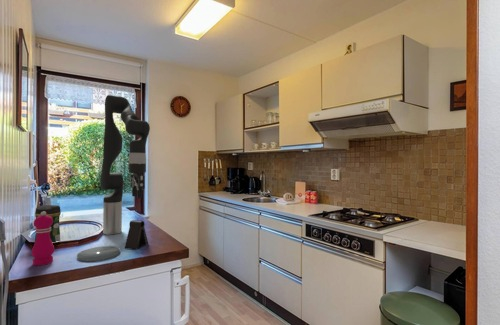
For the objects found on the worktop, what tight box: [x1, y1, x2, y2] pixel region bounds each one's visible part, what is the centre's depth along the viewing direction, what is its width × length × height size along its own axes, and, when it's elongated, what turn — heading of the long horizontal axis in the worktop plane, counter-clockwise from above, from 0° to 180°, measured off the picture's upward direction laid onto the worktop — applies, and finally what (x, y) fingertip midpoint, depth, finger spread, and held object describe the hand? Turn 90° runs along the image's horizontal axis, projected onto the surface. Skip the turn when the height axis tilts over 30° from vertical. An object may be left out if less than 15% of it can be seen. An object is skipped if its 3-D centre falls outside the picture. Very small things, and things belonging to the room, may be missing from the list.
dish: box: [76, 245, 121, 263], centre depth 116 cm, size 16×16×1 cm
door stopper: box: [124, 219, 149, 250], centre depth 128 cm, size 9×6×12 cm, turn 163°
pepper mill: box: [30, 211, 55, 266], centre depth 106 cm, size 7×7×20 cm
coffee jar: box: [34, 204, 62, 243], centre depth 130 cm, size 10×8×19 cm
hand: (137, 197), depth 128 cm, fingers open, 8 cm apart
